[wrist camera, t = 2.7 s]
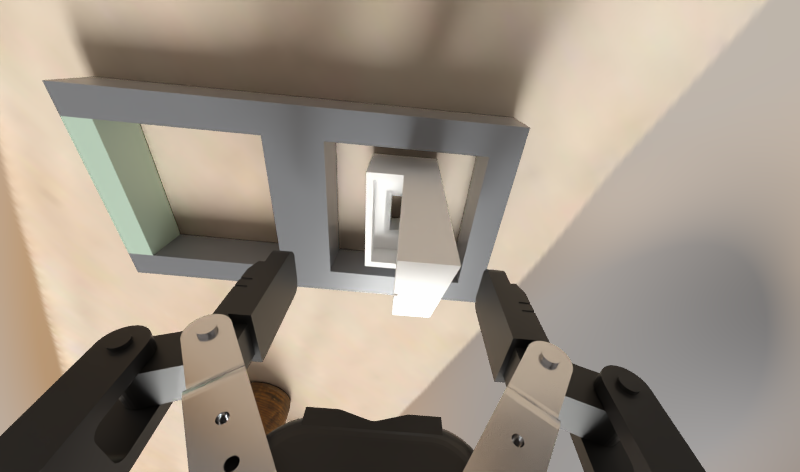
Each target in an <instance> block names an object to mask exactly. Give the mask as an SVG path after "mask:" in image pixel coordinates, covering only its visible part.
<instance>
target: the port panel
mask: <svg viewBox="0 0 800 472" xmlns="http://www.w3.org/2000/svg"><path fill="white" fill-rule="evenodd" d="M42 81H43V83H44V85H45V87H46V89H47V91H48V93H49V95H50V97H51V99H52V101H53V103H54V105H55V107H56V109H57V111H58V113H59V115H60V117H61V119H62V121H63V123H64V125H65V127H66V129H67V131H68V133H69V135H70V137H71V139H72V141H73V143H74V145H75V147H76V149H77V151H78V153H79V155H80V157H81V159H82V161H83V163H84V165H85V167H86V169H87V171H88V173H89V175H90V177H91V179H92V181H93V183H94V185H95V187H96V189H97V191H98V193H99V195H100V197H101V199H102V201H103V203H104V205H105V207H106V209H107V211H108V213H109V215H110V217H111V219H112V221H113V223H114V225H115V227H116V229H117V231H118V233H119V235H120V237H121V239H122V241H123V243H124V245H125V247H126V249H127V251H128V253H129V255H130V257H131V259H132V261H133V263H134V265H135V267H136V269H137V271H138V272H142V273H153V274H164V275H176V276H187V277H198V278H209V279H220V280H231V281H238V280H239V279H241V277H242V275H243V274H244V273H245V271H246V270H247V269H248V268H249V267H251V266H252V265H254V264H255V263H257V262H258V261H266V259H267V258H268V256H269V255H270V254H271V252H272V251H273V250H280V251H291V252H293V253H294V256H295V264H296V273H297V286H298V287H309V288H321V289H332V290H343V291H354V292H365V293H376V294H387V295H394V284H395V271H396V269H394V268H383V267H371V266H365V251H357V250H346V249H339V230H338V197H337V165H336V142H337V143H347V144H358V145H368V146H378V147H389V148H399V149H410V150H420V151H431V152H441V153H451V154H462V155H472V156H476V160H475V165H474V169H473V174H472V178H471V183H470V187H469V192H468V196H467V200H466V205H465V209H464V214H463V218H462V223H461V227H460V232H459V236H458V240H457V245H456V246H457V250H458V255H459V259H460V263H461V267H460V269H459V270H458V272H457V274H456V275H455V277H454V279H453V280H452V282H451V283H450V285H449V287H448V288H447V290H446V292H445V293H444V295H443V297H442V298H441V299H443V300H454V301H465V302H475V300H476V295H477V292H478V289H479V285H480V282H481V279H482V275H483V272H484V271H485V270H486V269H487V266H488V263H489V259H490V256H491V253H492V250H493V246H494V243H495V240H496V237H497V233H498V230H499V227H500V224H501V220H502V217H503V214H504V211H505V207H506V204H507V201H508V198H509V194H510V191H511V188H512V185H513V181H514V178H515V175H516V172H517V168H518V165H519V162H520V159H521V155H522V152H523V149H524V145H525V142H526V139H527V136H528V132H529V129H530V128H529V127H528V126H526V125H525V124H523V123H522V122H520V121H518V120H517V119H515V118H512V117H502V116H492V115H481V114H471V113H461V112H451V111H441V110H430V109H420V108H410V107H400V106H389V105H379V104H369V103H359V102H348V101H338V100H328V99H318V98H307V97H297V96H287V95H277V94H267V93H256V92H246V91H236V90H226V89H215V88H205V87H195V86H185V85H174V84H164V83H154V82H144V81H134V80H123V79H113V78H103V77H82V78H68V79H54V80H42ZM140 124H149V125H160V126H170V127H180V128H191V129H201V130H212V131H222V132H233V133H243V134H253V135H261V139H262V145H263V151H264V157H265V163H266V170H267V176H268V182H269V188H270V194H271V200H272V206H273V213H274V219H275V225H276V231H277V237H278V243H270V242H259V241H248V240H237V239H226V238H215V237H204V236H193V235H182V234H180V232H179V229H178V227H177V224H176V221H175V219H174V216H173V213H172V210H171V208H170V205H169V202H168V200H167V197H166V194H165V191H164V189H163V186H162V183H161V181H160V178H159V175H158V172H157V170H156V167H155V164H154V162H153V159H152V156H151V153H150V151H149V148H148V145H147V143H146V140H145V137H144V135H143V132H142V129H141V126H140Z"/></svg>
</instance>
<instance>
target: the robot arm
mask: <svg viewBox="0 0 800 472" xmlns="http://www.w3.org/2000/svg"><path fill="white" fill-rule="evenodd" d="M296 290H297V273H296V264H295V256H294V253H293V252H291V251H280V250H273V251H272V252H271V254H270V255H269V256H268V258H267V259H266V261H258V262H257V263H255V264H254V265H252V266H251V267H249V268H248V269H247V270H246V271H245V273H244V274H243V275H242V277H241V279H239V280H238V282H237V283H236V284H235V287H233V288H232V289H231V291H230V292H229V293H228V295H227V296H226V297H225V299H224V300H223V301H222V302H221V304H220V305H219V306H218V308H217V309H216V310H215V312H214V313H213V314H211V315H207V316H203V317H201V318H199V319H196V320H195V321H193V322H192V323H190V324H189V325H188V326H187V327H186V328H185V329H184V330H183V331H181V332H176V333H170V334H164V335H158V336H152V334H151V332H150V330H149V329H148V328H147V327H144V326H139V325H136V326H128V327H124V328H121V329H118V330H115V331H113V332H111V333H109V334H107V335H106V336H104V337H102V338H101V339H100V340H98V341H97V342H96V343H95V344H94V345H93V346H92V347H91V348H90V349H89V350H88V351H87V352H86V353H85V354H84V355H83V356H82V357H81V358H80V359H79V360H78V361H77V362H76V363H75V364H74V365H73V366H72V367H71V368H70V369H68V370H67V371H66V372H65V373H64V374H63V375H62V376H61V377H60V378H59V379H58V381H56V382H55V383H54V384H53V385H52V386H51V387H50V388H49V389H48V390H47V391H46V392H45V393H44V394H43V395H42V396H41V397H40V398H39V399H38V400H37V401H36V402H35V403H34V404H33V405H32V406H31V407H30V408H29V409H28V410H27V411H26V412H25V413H23V414H22V416H21V417H20V418H18V419H17V420H16V421H15V422H14V423H13V424H12V425H11V426H10V427H9V428H8V429H7V430H6V431H5V432H4V433H3V434H2V435H1V436H0V472H129V471H130V470H131V468H132V467H133V465H134V463H135V462H136V460H137V459H138V457H139V455H140V454H141V452H142V450H143V449H144V447H145V446H146V444H147V442H148V441H149V439H150V438H151V436H152V434H153V433H154V431H155V430H156V428H157V426H158V425H159V423H160V422H161V420H162V418H163V417H164V415H165V414H166V412H167V410H168V409H169V407H170V406H171V404H172V402H173V401H177V400H182V408H183V418H184V428H185V438H186V448H187V458H188V468H189V472H547V468H548V465H549V462H550V459H551V455H552V452H553V449H554V445H555V442H556V439H557V435H558V431H559V428H560V429H562V430H565V431H567V432H569V433H570V435H571V437H572V440H573V443H574V446H575V448H576V451H577V453H578V456H579V459H580V462H581V464H582V467H583V470H584V472H706V471H705V470H704V468H703V467H702V466H701V464H700V462H699V461H698V459H697V458H696V456H695V455H694V453H693V452H692V450H691V449H690V447H689V446H688V444H687V443H686V442H685V440H684V439H683V437H682V436H681V434H680V432H679V431H678V430H677V428H676V427H675V425H674V424H673V422H672V421H671V419H670V418H669V416H668V415H667V413H666V412H665V410H664V409H663V407H662V406H661V404H660V403H659V401H658V400H657V398H656V397H655V395H654V394H653V392H652V391H651V389H650V388H649V387H648V385H647V384H646V383H645V382H644V381H643V380H642V379H641V378H639V377H638V376H637V375H635V374H634V373H632V372H630V371H628V370H627V369H624V368H622V367H618V366H613V365H610V366H606V367H604V368H603V369H602V371H601V372H600V373H597V372H594V371H591V370H589V369H586V368H583V367H580V366H577V365H575V364H573V363H572V362H571V360H570V359H569V357H568V356H567V355H566V354H565V352H563V351H562V350H561V349H560V348H558V347H557V346H555V345H553V344H551V343H550V342H549V340H548V338H547V336H546V334H545V332H544V330H543V328H542V326H541V325H540V322H539V320H538V318H537V316H536V314H535V313H534V310H533V308H532V306H531V305H530V302H529V300H528V298H527V296H526V294H525V293H524V292H523V291H522V290H521V289H520V288H519V287H518V286H517V285H516V284H510V282H509V280H508V278H507V275H506V273H505V272H504V271H499V270H488V269H486V270H485V271H484V272H483V275H482V279H481V282H480V285H479V289H478V292H477V295H476V300H475V309H476V313H477V317H478V321H479V325H480V329H481V332H482V336H483V340H484V343H485V347H486V351H487V355H488V358H489V363H490V366H491V370H492V374H493V378H494V381H495V382H505V383H506V389H505V391H504V393H503V395H502V397H501V399H500V401H499V403H498V405H497V407H496V409H495V410H494V413H493V414H492V416H491V418H490V420H489V422H488V424H487V426H486V428H485V430H484V432H483V434H482V436H481V438H480V440H479V441H478V443H477V445H476V447H475V449H474V450H473V449H472V448H471V447H470V446H469V445H468V444H467V443H466V442H465V441H463V440H462V439H461V438H459V437H458V436H456V435H455V434H453V433H451V432H449V431H447V430H445V429H442V422H441V417H432V416H418V415H404V416H399V417H394V418H389V419H385V420H380V421H370V420H367V419H364V418H361V417H359V416H356V415H353V414H351V413H348V412H345V411H343V410H340V409H328V408H315V407H306V410H305V413H304V416H303V418H301V419H297V420H294V421H291V422H288V423H286V424H284V425H281V426H280V427H278V428H276V429H275V430H273V431H271V432H270V433H269V434H267V435H266V434H265V431H264V428H263V424H262V421H261V418H260V414H259V411H258V408H257V404H256V401H255V398H254V394H253V391H252V388H251V384H250V381H249V378H248V374H247V371H246V370H247V368H248V366H249V365H250V363H251V361H255V362H263V360H264V358H265V356H266V354H267V352H268V350H269V348H270V345H271V343H272V341H273V339H274V337H275V335H276V333H277V331H278V329H279V327H280V325H281V323H282V321H283V319H284V317H285V315H286V312H287V310H288V308H289V306H290V304H291V302H292V300H293V298H294V296H295V293H296Z"/></svg>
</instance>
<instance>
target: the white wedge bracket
mask: <svg viewBox="0 0 800 472" xmlns="http://www.w3.org/2000/svg"><path fill="white" fill-rule="evenodd" d="M392 196H402V202H401V214H400V218H391V210H392ZM365 266H371V267H383V268H394V269H396V271H395V284H394V296H393V308H392V315H401V316H413V317H425V318H430V316H431V315H432V313H433V311H434V310H435V308H436V306H437V305H438V303H439V301H440V300H441V298H442V297H443V295H444V293H445V292H446V290H447V288H448V287H449V285H450V283H451V282H452V280H453V279H454V277H455V275H456V274H457V272H458V270H459V269H460V267H461V263H460V259H459V255H458V250H457V246H456V241H455V237H454V232H453V228H452V224H451V219H450V215H449V210H448V206H447V201H446V197H445V193H444V188H443V184H442V179H441V175H440V170H439V166H438V162H437V159H431V158H420V157H408V156H397V155H385V154H373V156H372V159H371V161H370V164H369V166H368V169H367V171H366V222H365Z"/></svg>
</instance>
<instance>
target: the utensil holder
mask: <svg viewBox="0 0 800 472" xmlns="http://www.w3.org/2000/svg"><path fill="white" fill-rule="evenodd" d="M250 384H251V388H252V391H253V394H254V398H255V401H256V404H257V408H258V411H259V414H260V418H261V421H262V424H263V428H264V431H265V434H266V435H267V434H269V433H270V432H271V431H273V430H275V429H276V428H278V427H280V426H281V425H284V424H285V422H286V419H287V416H288V412H289V408H290V399H289V397H288V395H287V394H286V393H285V392H284V391H282V390H281V389H279V388H278V387H275V386H273V385H270V384H266V383H260V382H252V383H250Z"/></svg>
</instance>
